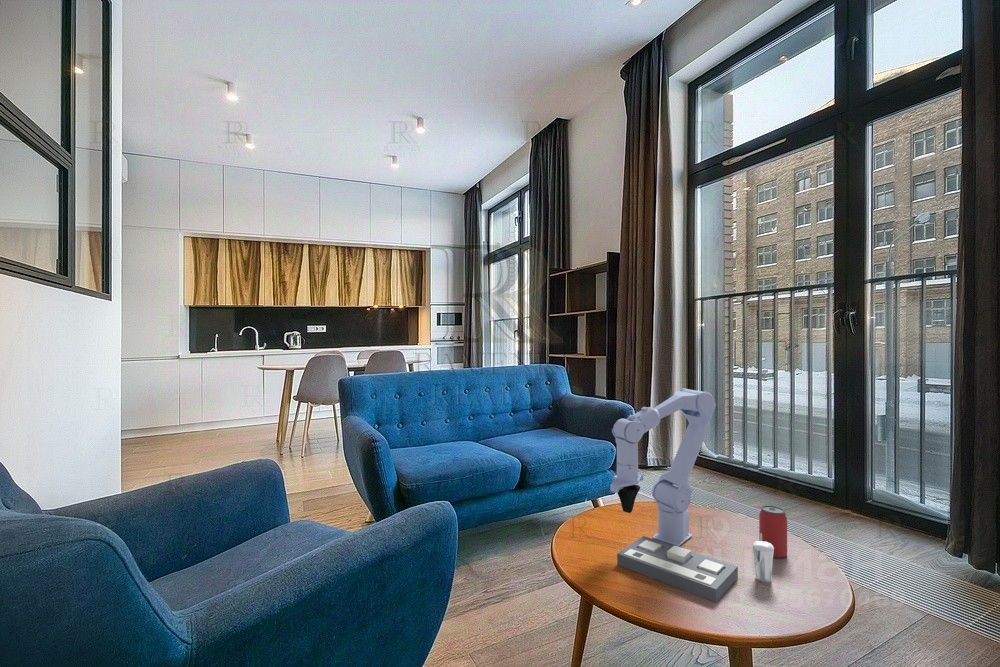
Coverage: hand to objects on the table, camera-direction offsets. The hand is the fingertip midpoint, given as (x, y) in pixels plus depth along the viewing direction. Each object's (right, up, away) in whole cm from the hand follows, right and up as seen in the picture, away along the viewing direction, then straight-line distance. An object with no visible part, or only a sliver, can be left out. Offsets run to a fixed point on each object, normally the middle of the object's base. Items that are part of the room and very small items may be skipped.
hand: (627, 511), depth 134 cm
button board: (+9, -11, -12) cm, 19 cm away
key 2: (+16, -10, -17) cm, 25 cm away
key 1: (+5, -10, -5) cm, 12 cm away
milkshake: (+29, -11, -16) cm, 35 cm away
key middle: (+10, -9, -11) cm, 18 cm away
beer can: (+38, -10, -4) cm, 40 cm away
